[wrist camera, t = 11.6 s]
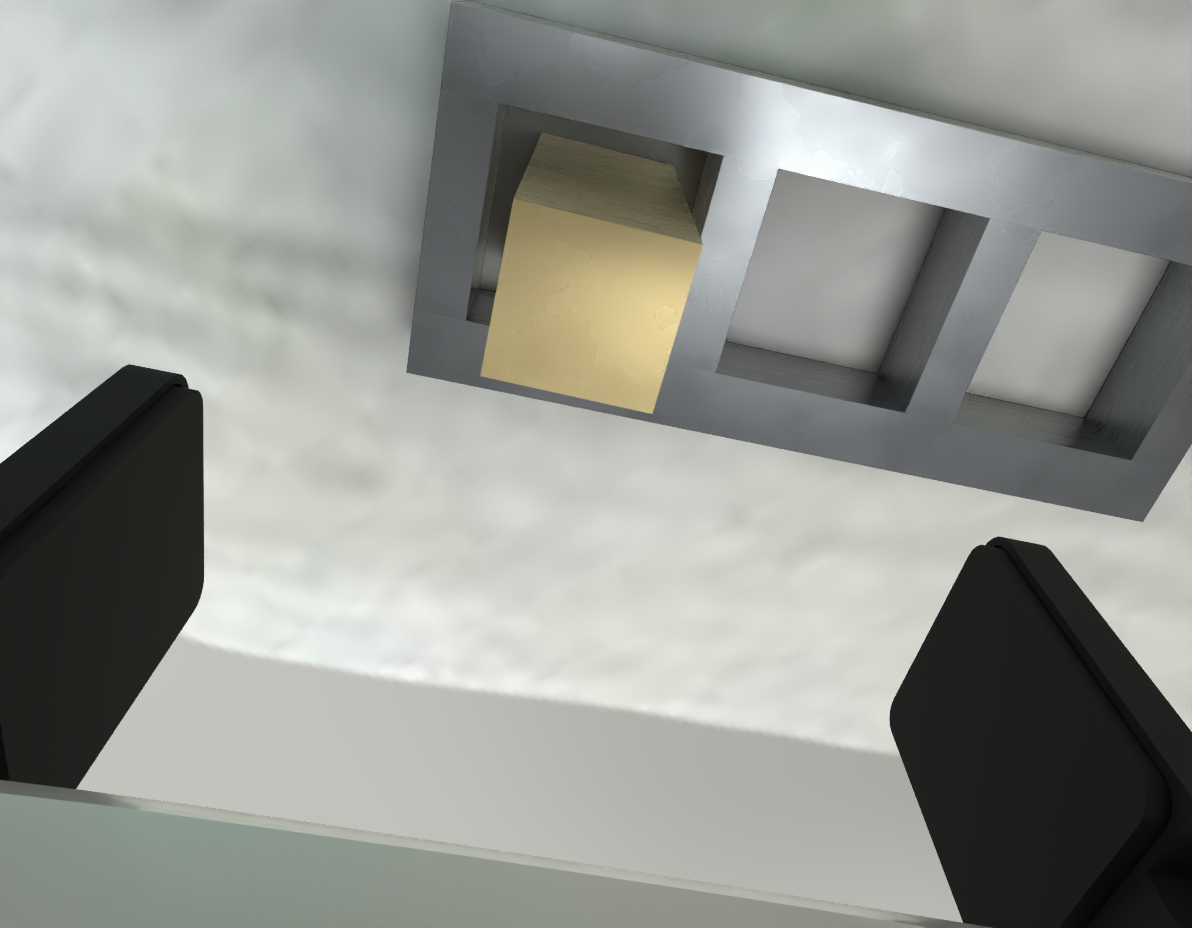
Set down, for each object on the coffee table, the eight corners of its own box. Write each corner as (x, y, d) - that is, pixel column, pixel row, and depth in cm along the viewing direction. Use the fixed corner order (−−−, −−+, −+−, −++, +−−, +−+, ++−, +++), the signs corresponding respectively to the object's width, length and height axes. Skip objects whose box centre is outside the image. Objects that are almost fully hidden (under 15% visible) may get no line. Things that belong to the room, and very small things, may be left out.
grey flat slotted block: (1260, 194, 26) (1333, 218, 23) (1096, 476, 31) (1142, 522, 28) (468, 0, 24) (451, 1, 21) (425, 336, 28) (406, 372, 26)
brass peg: (673, 165, 26) (703, 244, 18) (639, 291, 28) (652, 414, 20) (541, 132, 25) (513, 198, 17) (516, 262, 27) (480, 376, 19)
